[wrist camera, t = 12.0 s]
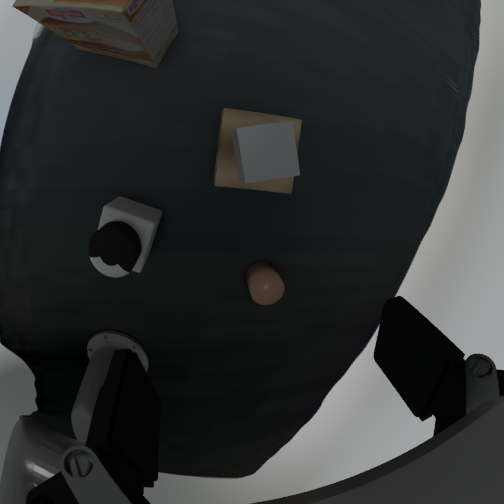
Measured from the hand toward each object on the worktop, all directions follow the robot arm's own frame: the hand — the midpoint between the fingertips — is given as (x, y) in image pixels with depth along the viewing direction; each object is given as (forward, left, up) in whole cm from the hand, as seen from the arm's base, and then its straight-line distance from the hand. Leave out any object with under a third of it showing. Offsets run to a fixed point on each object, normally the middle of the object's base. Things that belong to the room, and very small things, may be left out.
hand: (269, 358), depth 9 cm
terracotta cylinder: (-13, -5, -32) cm, 35 cm away
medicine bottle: (-2, +13, -32) cm, 35 cm away
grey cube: (+6, -6, -28) cm, 29 cm away
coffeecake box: (+27, +11, -32) cm, 44 cm away
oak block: (+6, -6, -33) cm, 34 cm away
